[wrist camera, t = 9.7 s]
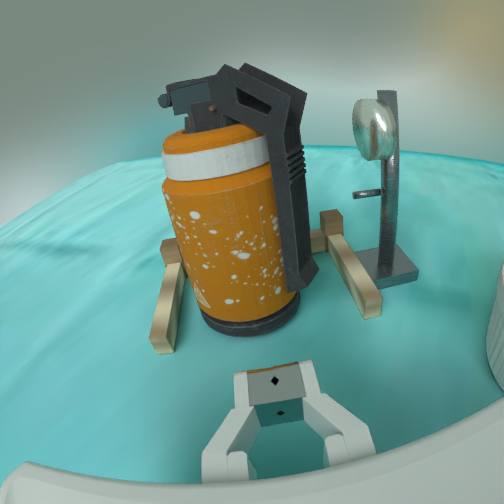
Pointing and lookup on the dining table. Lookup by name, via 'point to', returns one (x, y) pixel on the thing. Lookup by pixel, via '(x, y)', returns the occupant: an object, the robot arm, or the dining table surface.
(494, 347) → the ramekin
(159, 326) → the cradle
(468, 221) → the dining table surface
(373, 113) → the mirror on stand
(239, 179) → the canister
